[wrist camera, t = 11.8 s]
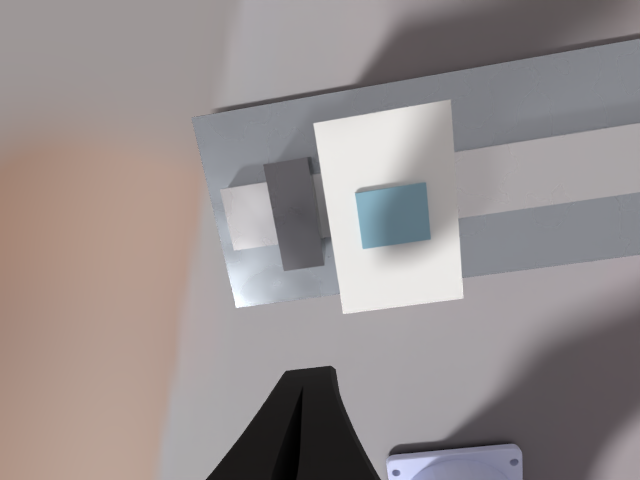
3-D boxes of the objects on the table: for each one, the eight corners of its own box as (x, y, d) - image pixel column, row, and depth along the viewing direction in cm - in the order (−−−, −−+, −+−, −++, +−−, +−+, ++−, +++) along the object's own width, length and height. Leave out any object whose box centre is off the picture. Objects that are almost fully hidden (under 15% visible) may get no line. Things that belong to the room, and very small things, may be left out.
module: (426, 258, 17) (465, 300, 12) (340, 270, 18) (343, 316, 13) (414, 116, 16) (453, 98, 11) (319, 133, 16) (312, 122, 11)
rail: (740, 239, 17) (835, 258, 14) (237, 305, 19) (218, 336, 15) (773, 16, 14) (899, -24, 11) (193, 118, 16) (160, 109, 13)
